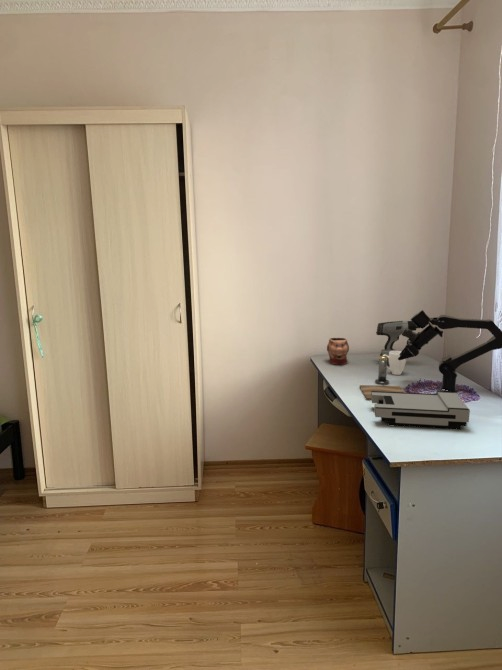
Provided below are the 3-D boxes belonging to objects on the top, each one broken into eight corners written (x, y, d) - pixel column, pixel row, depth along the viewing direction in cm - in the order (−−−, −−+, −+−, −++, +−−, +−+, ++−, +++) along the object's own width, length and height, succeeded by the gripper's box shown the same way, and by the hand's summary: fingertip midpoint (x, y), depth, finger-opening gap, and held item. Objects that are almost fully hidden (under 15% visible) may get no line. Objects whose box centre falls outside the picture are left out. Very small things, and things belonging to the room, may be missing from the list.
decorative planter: (323, 358, 272) (324, 335, 269) (344, 358, 272) (344, 334, 270) (330, 367, 252) (331, 342, 250) (352, 366, 253) (353, 341, 250)
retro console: (370, 407, 190) (371, 388, 188) (453, 411, 184) (454, 391, 183) (374, 426, 170) (375, 405, 168) (467, 432, 164) (469, 410, 162)
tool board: (409, 400, 196) (409, 398, 196) (366, 400, 197) (366, 397, 197) (398, 388, 214) (399, 385, 214) (359, 387, 215) (359, 385, 215)
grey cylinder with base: (390, 385, 219) (391, 358, 216) (376, 384, 219) (377, 358, 217) (387, 381, 225) (388, 355, 223) (373, 381, 225) (375, 355, 223)
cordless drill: (421, 367, 250) (424, 321, 245) (375, 365, 255) (377, 320, 250) (419, 364, 258) (422, 319, 253) (374, 362, 262) (376, 318, 258)
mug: (403, 372, 241) (404, 350, 239) (406, 376, 233) (407, 354, 231) (379, 371, 243) (380, 350, 241) (381, 375, 235) (382, 353, 233)
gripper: (414, 319, 220) (389, 340, 226) (412, 326, 203) (385, 348, 209) (431, 337, 219) (405, 357, 225) (430, 344, 202) (402, 367, 208)
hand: (399, 357), depth 217 cm, fingers open, 9 cm apart
